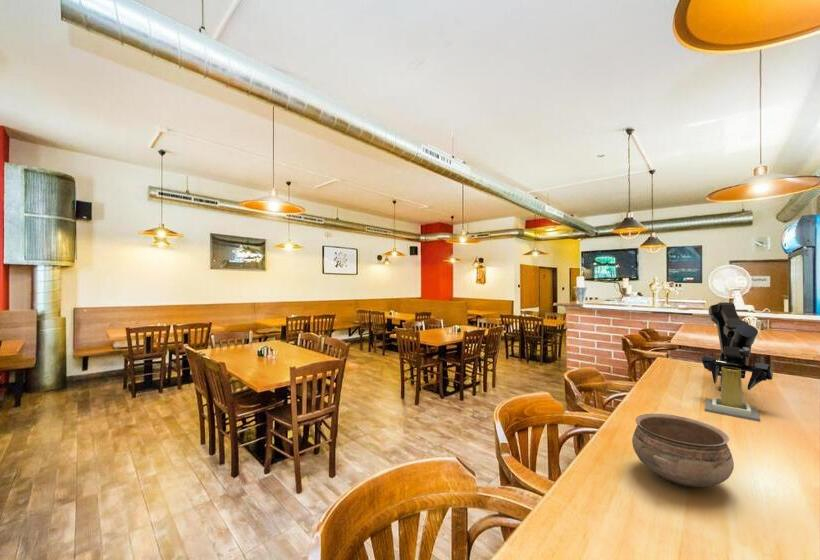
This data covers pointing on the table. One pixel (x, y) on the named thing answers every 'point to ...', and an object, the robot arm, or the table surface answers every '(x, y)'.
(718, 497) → the table surface
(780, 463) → the table surface
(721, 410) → the vase holder
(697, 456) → the cooking pot
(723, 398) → the vase
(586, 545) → the table surface
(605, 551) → the table surface
